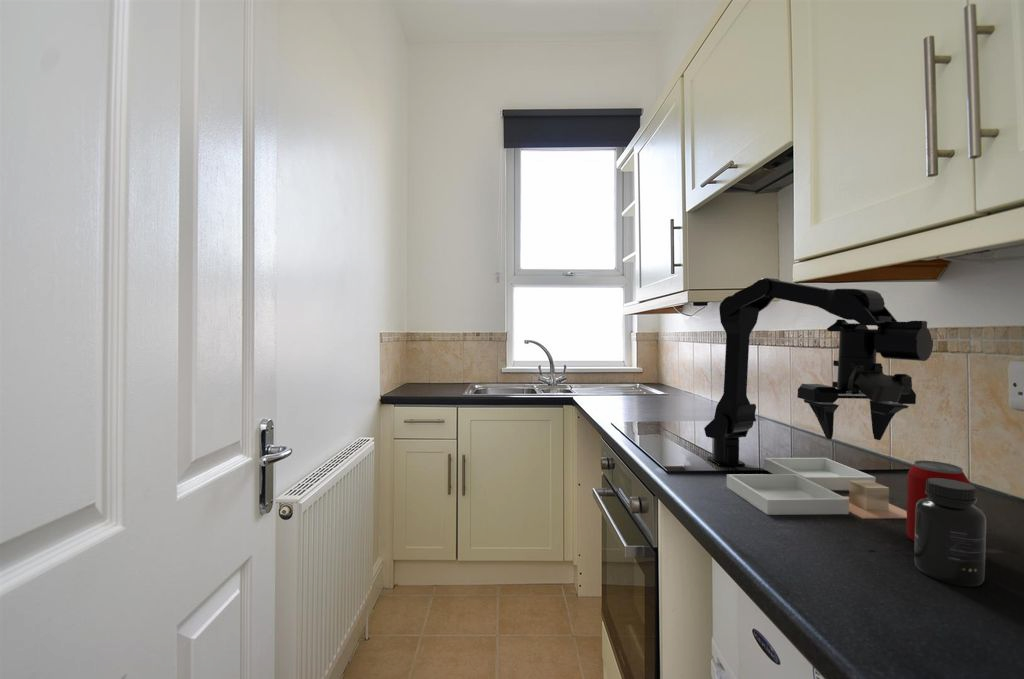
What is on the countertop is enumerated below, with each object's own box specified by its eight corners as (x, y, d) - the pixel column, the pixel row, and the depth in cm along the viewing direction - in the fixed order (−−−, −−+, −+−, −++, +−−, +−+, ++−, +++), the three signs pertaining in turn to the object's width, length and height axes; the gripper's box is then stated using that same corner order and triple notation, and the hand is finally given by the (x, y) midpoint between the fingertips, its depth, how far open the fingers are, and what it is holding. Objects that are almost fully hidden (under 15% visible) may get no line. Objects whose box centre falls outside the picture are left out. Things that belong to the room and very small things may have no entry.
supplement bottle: (901, 560, 66) (903, 474, 65) (954, 562, 65) (956, 476, 65) (940, 586, 59) (942, 490, 59) (1001, 590, 58) (1003, 493, 58)
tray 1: (726, 489, 95) (726, 474, 94) (796, 488, 95) (796, 474, 95) (767, 517, 80) (767, 499, 80) (848, 516, 81) (849, 499, 81)
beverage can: (949, 539, 72) (951, 461, 72) (979, 559, 66) (981, 474, 66) (897, 533, 74) (898, 457, 74) (921, 553, 68) (923, 469, 67)
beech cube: (849, 502, 86) (849, 480, 86) (870, 502, 86) (870, 480, 86) (866, 510, 82) (866, 487, 82) (888, 510, 82) (889, 487, 82)
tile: (821, 499, 89) (821, 496, 89) (873, 499, 89) (873, 496, 89) (862, 521, 79) (862, 517, 79) (920, 520, 79) (920, 517, 79)
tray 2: (763, 471, 107) (764, 457, 107) (825, 470, 107) (825, 457, 107) (804, 492, 93) (805, 477, 93) (875, 492, 93) (875, 477, 93)
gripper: (838, 359, 80) (833, 450, 81) (946, 361, 80) (941, 451, 81) (797, 354, 91) (794, 434, 92) (892, 356, 92) (888, 436, 92)
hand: (853, 439), depth 89 cm, fingers open, 9 cm apart
